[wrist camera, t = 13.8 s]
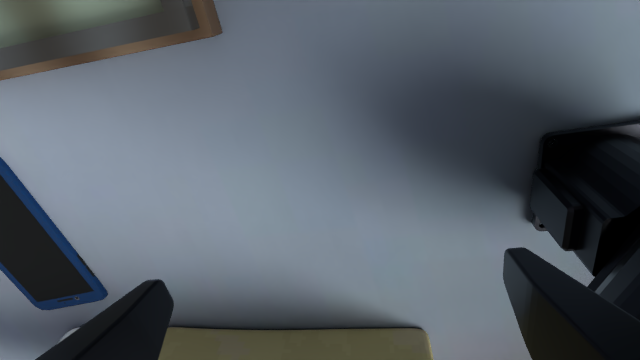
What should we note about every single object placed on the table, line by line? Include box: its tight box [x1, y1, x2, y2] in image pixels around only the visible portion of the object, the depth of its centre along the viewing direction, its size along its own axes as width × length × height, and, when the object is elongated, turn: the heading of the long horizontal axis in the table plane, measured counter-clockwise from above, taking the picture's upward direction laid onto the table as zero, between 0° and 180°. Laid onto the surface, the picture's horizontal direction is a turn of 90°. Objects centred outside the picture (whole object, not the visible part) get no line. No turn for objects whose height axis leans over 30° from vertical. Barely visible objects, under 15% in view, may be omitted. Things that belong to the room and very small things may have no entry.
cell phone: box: [0, 157, 108, 310], centre depth 28 cm, size 7×14×1 cm, turn 18°
